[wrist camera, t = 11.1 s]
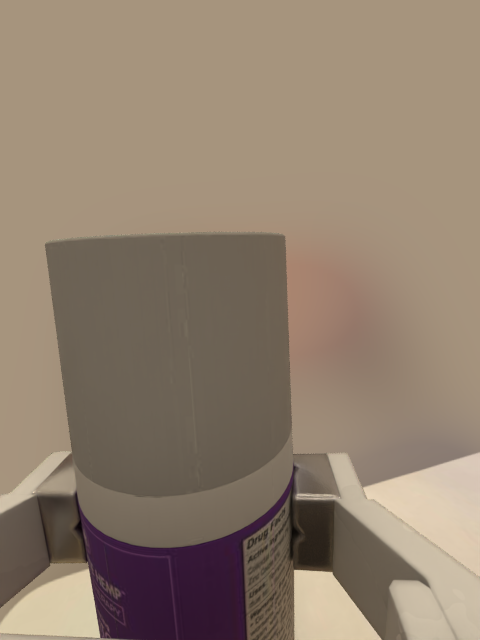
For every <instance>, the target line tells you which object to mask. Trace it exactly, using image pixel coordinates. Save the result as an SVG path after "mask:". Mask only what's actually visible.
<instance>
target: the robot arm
mask: <svg viewBox="0 0 480 640" xmlns="http://www.w3.org/2000/svg"><path fill="white" fill-rule="evenodd" d="M293 468H294V475H293V484H292V522H293V528H292V560H293V570H309V571H325V572H333V575H334V576H335V578H336V579H337V580H338V582H339V583H340V584H341V586H342V587H343V588H344V590H345V591H346V592H347V594H348V595H349V596H350V598H351V599H352V600H353V602H354V603H355V604H356V606H357V607H358V608H359V610H360V611H361V612H362V614H363V615H364V616H365V618H366V619H367V620H368V622H369V623H370V624H371V626H372V627H373V628H374V630H375V631H376V632H377V634H378V635H379V636H380V638H381V639H382V640H480V577H479V576H478V575H476V574H475V573H474V572H472V571H471V570H470V569H468V568H467V567H465V566H464V565H463V564H461V563H460V562H459V561H457V560H456V559H454V558H453V557H452V556H450V555H449V554H448V553H446V552H445V551H444V550H442V549H441V548H439V547H438V546H437V545H435V544H434V543H433V542H431V541H430V540H429V539H427V538H426V537H424V536H423V535H422V534H420V533H419V532H418V531H416V530H415V529H414V528H412V527H411V526H409V525H408V524H407V523H405V522H404V521H403V520H401V519H400V518H398V517H397V516H396V515H394V514H393V513H392V512H390V511H389V510H388V509H386V508H385V507H383V506H382V505H381V504H379V503H378V502H377V501H375V500H372V499H367V497H366V495H365V492H364V490H363V488H362V485H361V483H360V481H359V478H358V476H357V474H356V471H355V469H354V467H353V465H352V462H351V460H350V458H349V455H348V454H347V453H326V454H293ZM87 561H88V559H87V553H86V547H85V541H84V535H83V529H82V523H81V517H80V511H79V505H78V496H77V487H76V480H75V472H74V464H73V455H72V452H55V453H51V454H50V455H49V456H48V457H47V458H46V459H45V460H44V461H43V462H42V463H41V464H40V465H39V466H38V467H37V468H36V469H35V470H34V471H32V472H31V474H29V475H28V476H27V477H26V478H25V479H24V480H23V481H22V482H21V483H20V484H19V485H18V486H17V487H16V488H15V489H14V490H13V491H12V492H11V493H10V494H2V495H0V608H1V607H2V606H3V605H4V604H5V603H6V602H8V601H9V600H10V599H11V598H12V597H14V596H15V595H16V594H17V593H18V592H20V591H21V590H22V589H23V588H24V587H25V586H27V585H28V584H29V583H30V582H31V581H33V579H35V578H36V577H37V576H38V575H40V574H41V573H42V572H43V571H44V570H45V569H47V568H48V567H49V566H50V563H87ZM0 640H129V639H108V638H87V637H67V636H46V635H24V634H3V633H0Z"/></svg>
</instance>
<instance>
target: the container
mask: <svg viewBox="0 0 480 640" xmlns="http://www.w3.org/2000/svg"><path fill="white" fill-rule="evenodd" d="M45 248H46V255H47V263H48V271H49V278H50V285H51V294H52V301H53V309H54V316H55V324H56V332H57V340H58V348H59V355H60V363H61V371H62V379H63V386H64V394H65V402H66V409H67V417H68V425H69V432H70V440H71V447H72V455H73V464H74V472H75V480H76V487H77V496H78V505H79V511H80V517H81V523H82V529H83V535H84V541H85V547H86V553H87V559H88V565H89V571H90V577H91V583H92V589H93V595H94V601H95V607H96V613H97V619H98V625H99V631H100V637H101V638H108V639H129V640H294V570H293V560H292V528H293V522H292V484H293V475H294V468H293V446H292V420H291V419H292V418H291V391H290V390H291V389H290V362H289V335H288V334H289V333H288V305H287V275H286V247H285V236H284V235H283V234H279V233H264V232H197V233H156V234H131V235H111V236H93V237H80V238H70V239H59V240H52V241H49V242H46V244H45Z"/></svg>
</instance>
